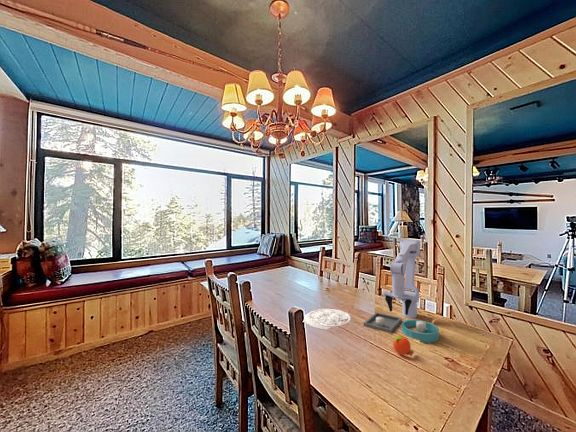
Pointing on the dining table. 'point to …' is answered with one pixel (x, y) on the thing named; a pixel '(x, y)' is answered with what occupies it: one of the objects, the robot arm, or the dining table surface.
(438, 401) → the dining table surface
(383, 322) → the stone
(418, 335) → the bowl
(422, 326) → the stone
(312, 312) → the ceiling medallion
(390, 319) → the tray
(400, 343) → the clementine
